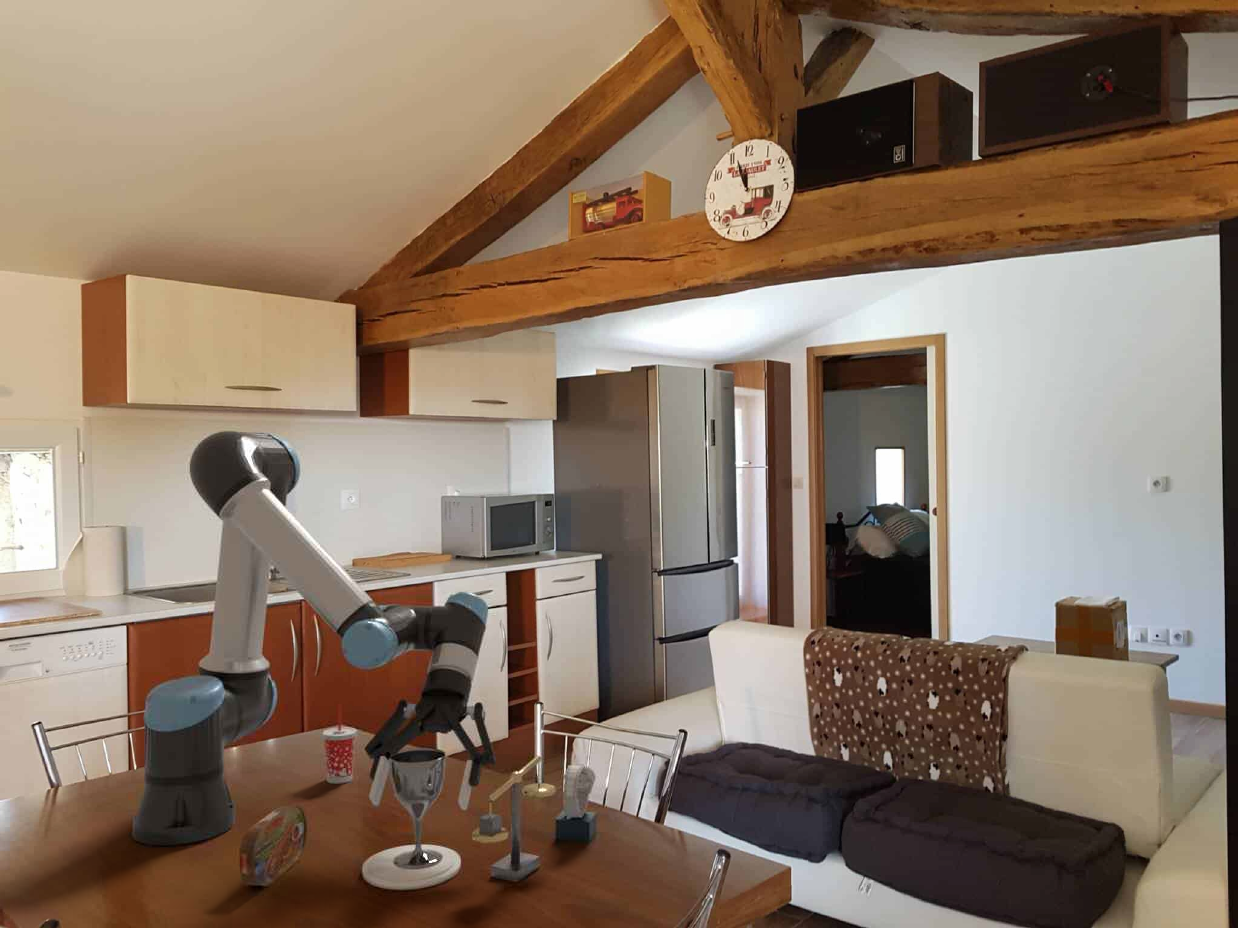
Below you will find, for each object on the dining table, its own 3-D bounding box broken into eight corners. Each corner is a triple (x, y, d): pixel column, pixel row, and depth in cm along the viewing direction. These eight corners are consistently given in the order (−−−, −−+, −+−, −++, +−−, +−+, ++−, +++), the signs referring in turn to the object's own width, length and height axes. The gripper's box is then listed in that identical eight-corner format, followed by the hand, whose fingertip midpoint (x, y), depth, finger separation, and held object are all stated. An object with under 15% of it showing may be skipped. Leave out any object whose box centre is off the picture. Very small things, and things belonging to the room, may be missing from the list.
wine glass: (433, 870, 136) (432, 763, 137) (380, 866, 138) (380, 761, 138) (453, 850, 144) (453, 749, 145) (404, 846, 146) (403, 746, 146)
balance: (495, 899, 130) (495, 787, 130) (465, 892, 133) (464, 782, 133) (561, 852, 146) (561, 752, 146) (533, 846, 149) (533, 748, 149)
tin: (255, 896, 131) (255, 834, 132) (234, 895, 132) (234, 833, 132) (308, 853, 146) (308, 797, 146) (289, 851, 147) (289, 796, 147)
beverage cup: (351, 784, 178) (351, 708, 178) (318, 784, 178) (318, 708, 178) (360, 774, 184) (360, 700, 184) (328, 774, 184) (328, 700, 184)
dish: (341, 877, 137) (341, 869, 137) (405, 843, 150) (405, 836, 150) (419, 897, 131) (419, 889, 131) (479, 859, 144) (479, 852, 144)
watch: (599, 827, 157) (599, 759, 157) (586, 846, 149) (586, 774, 149) (566, 824, 158) (566, 757, 158) (551, 843, 150) (551, 772, 150)
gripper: (528, 693, 158) (504, 818, 143) (382, 688, 161) (345, 810, 147) (520, 668, 153) (495, 795, 138) (369, 663, 156) (329, 787, 141)
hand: (417, 803), depth 142 cm, fingers open, 13 cm apart
